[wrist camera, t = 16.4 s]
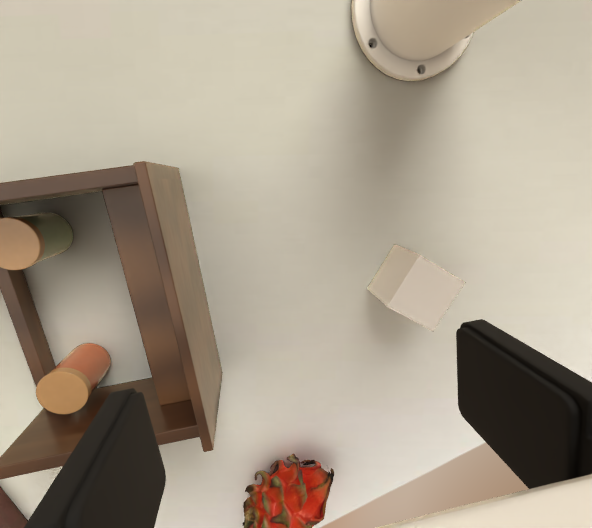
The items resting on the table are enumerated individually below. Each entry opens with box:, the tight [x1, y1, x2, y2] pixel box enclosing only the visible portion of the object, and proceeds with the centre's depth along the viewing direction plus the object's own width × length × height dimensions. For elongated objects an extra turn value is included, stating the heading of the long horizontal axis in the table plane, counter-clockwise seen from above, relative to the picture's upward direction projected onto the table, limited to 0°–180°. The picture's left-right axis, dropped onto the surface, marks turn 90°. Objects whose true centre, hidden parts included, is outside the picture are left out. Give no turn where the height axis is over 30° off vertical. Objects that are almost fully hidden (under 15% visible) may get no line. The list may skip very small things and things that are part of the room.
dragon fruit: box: [243, 454, 334, 528], centre depth 41 cm, size 8×8×12 cm
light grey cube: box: [367, 244, 466, 332], centre depth 38 cm, size 6×6×6 cm
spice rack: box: [0, 161, 222, 479], centre depth 31 cm, size 23×18×12 cm
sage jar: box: [0, 212, 73, 270], centre depth 31 cm, size 4×4×6 cm
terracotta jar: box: [36, 343, 111, 414], centre depth 35 cm, size 4×4×6 cm
